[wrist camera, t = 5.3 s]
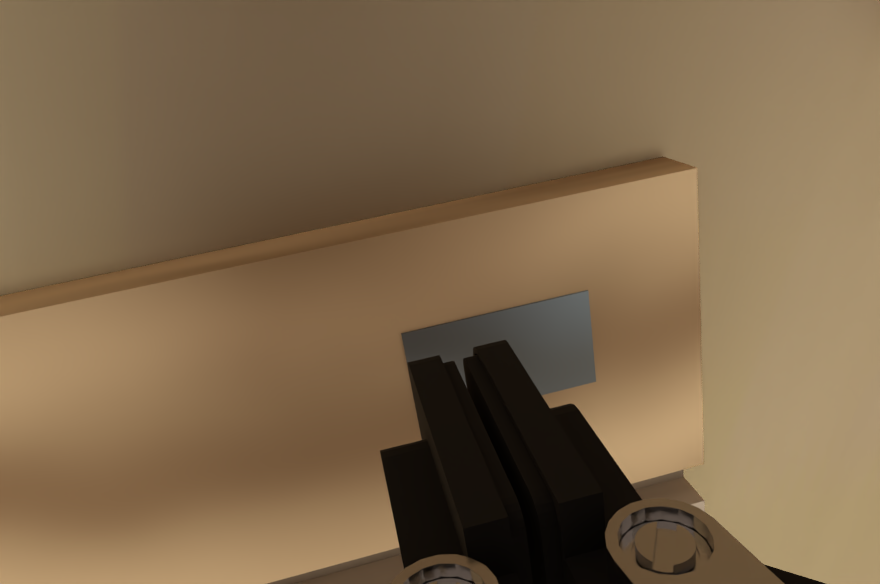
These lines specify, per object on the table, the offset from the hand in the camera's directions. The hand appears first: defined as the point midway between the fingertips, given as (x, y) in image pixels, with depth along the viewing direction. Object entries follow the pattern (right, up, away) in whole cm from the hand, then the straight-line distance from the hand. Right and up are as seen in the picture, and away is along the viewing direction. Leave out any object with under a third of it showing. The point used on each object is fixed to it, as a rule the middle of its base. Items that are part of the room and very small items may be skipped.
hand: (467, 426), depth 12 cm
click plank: (-6, -1, +5) cm, 8 cm away
